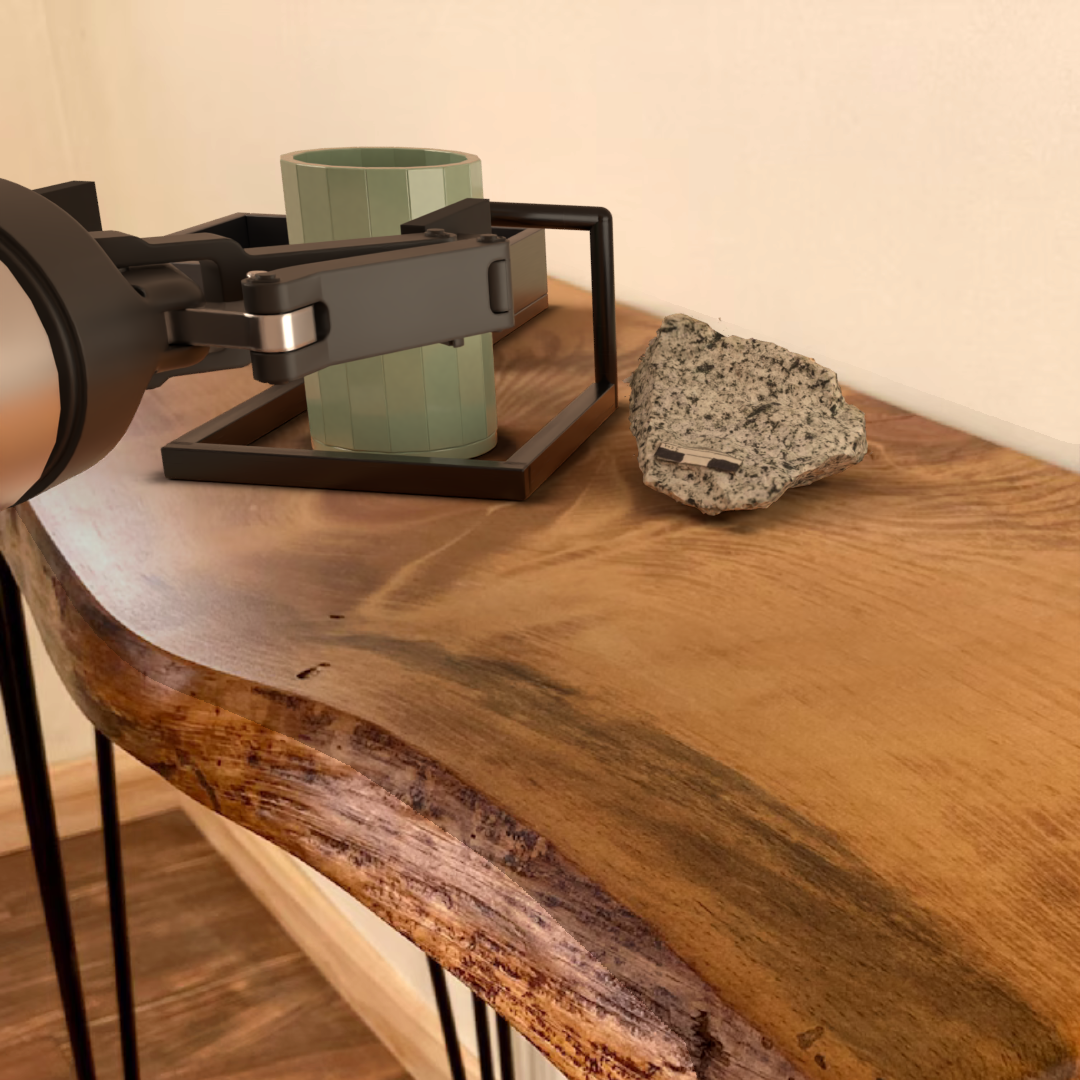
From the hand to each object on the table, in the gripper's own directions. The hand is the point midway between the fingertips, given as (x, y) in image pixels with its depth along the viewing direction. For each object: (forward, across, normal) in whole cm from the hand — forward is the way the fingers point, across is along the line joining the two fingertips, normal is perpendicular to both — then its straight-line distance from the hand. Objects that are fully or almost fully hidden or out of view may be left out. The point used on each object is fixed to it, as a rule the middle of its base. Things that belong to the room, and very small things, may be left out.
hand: (284, 231), depth 60 cm
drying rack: (+10, 0, -10) cm, 14 cm away
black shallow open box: (+32, -11, -10) cm, 35 cm away
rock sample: (+6, +15, -10) cm, 19 cm away
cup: (+10, 0, -10) cm, 14 cm away
